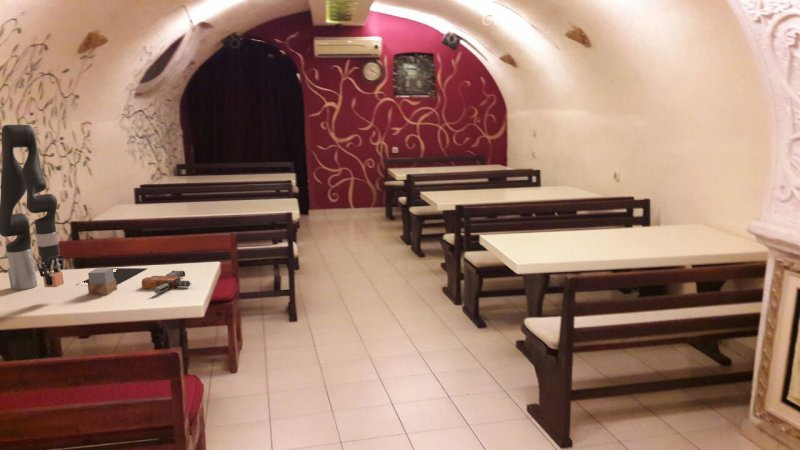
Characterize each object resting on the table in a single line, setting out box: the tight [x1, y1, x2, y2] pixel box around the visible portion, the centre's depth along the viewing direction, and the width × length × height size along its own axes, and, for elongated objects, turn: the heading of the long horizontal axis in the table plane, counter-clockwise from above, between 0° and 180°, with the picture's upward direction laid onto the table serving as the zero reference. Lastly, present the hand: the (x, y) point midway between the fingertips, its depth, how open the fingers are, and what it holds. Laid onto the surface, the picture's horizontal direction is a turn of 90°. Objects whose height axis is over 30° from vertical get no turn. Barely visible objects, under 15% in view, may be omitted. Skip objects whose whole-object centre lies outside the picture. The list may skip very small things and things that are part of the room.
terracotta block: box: [42, 271, 65, 288], centre depth 242 cm, size 5×5×5 cm
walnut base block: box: [87, 279, 118, 297], centre depth 252 cm, size 8×8×5 cm
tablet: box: [76, 267, 148, 286], centre depth 276 cm, size 27×1×20 cm
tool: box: [141, 270, 191, 294], centre depth 259 cm, size 4×27×30 cm
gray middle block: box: [87, 267, 114, 284], centre depth 251 cm, size 7×7×5 cm
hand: (53, 283), depth 242 cm, fingers closed on terracotta block, 5 cm apart
